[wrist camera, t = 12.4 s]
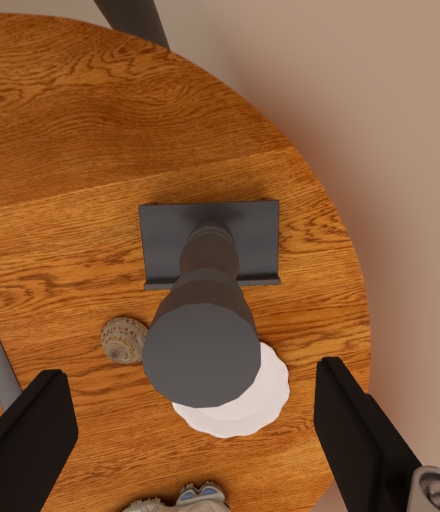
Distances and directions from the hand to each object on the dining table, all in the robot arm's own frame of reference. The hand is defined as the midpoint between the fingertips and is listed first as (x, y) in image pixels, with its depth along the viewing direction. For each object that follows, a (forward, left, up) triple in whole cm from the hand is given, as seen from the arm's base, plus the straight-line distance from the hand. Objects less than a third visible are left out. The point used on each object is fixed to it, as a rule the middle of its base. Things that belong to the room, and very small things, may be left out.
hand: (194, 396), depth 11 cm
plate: (+27, +2, -35) cm, 45 cm away
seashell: (+17, -15, -35) cm, 42 cm away
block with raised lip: (0, 0, -35) cm, 35 cm away
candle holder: (0, 0, -28) cm, 28 cm away
